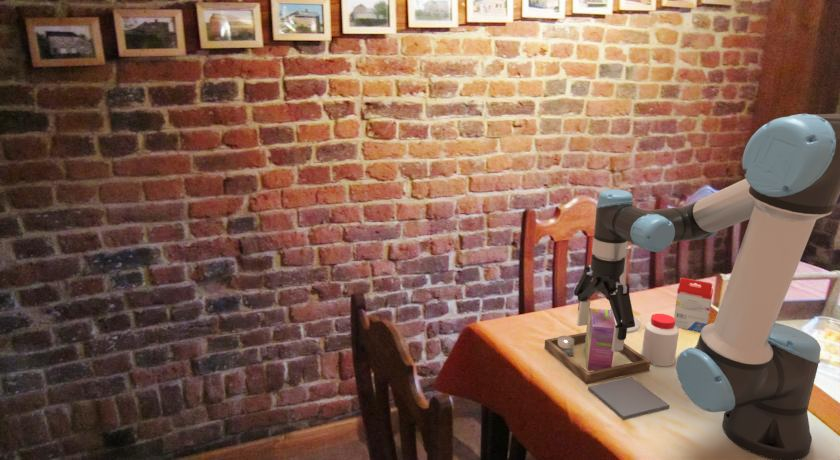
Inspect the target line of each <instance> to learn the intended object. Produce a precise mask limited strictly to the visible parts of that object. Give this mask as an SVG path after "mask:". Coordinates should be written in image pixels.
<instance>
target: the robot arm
mask: <svg viewBox="0 0 840 460" xmlns="http://www.w3.org/2000/svg"><path fill="white" fill-rule="evenodd" d="M742 169H743V171H745V174H744V179H741V180H739V181H737V182H735V183H732V184H730V185H729V186H727V187H724V188H722V189H720V190H718V191H715V192H714V193H711V194H708V195H707V196H705V197H703V198H700V199H699V200H697V201H694V202H692V203H690V204H688V205H684V206H678V207H677V206H676V207H668V208H667V207H666V208H660V209H649V210H647V209H644V208H643V209H642V208H640V207H637V206H636V205H634V195H633V194H632V193H631V192H629V191H627V190H623V189H616V188H615V189H614V188H612V189H605V190H602V191H600V193H599V194H598V198H597V205H596V207H595V211H596V212H595V220H594V221H595V222H594V233H593V239H592V240H593V241H592V248H591V249H592V250H591V252H592V255H591V260H590V264H589V265H584V267H583V268H584V269H583V274H582V275H581V277H580V279H579V281H578V283H577V285H576V287H575V289H574V290H573V295H574V296H577V300H578V307H577V311H578V315H577V316H578V317H577V324H576V325H577V327H582V326H583V327H584V326H587V321H588V311H589V308H591V301H590V300H591V297H592V296H593V295H594V294H595V293H596V292H601V294H602V295H604V296H605V298H606V300H607V301H609V305H610V309H611V308H612V311H613V314H614V317H615V320H616V323H617V325H614V333H613V341H612V349H611V350H612V351H613V352H614V353H615V352H619V351H620V350H623V346H624V343H625V340H626V338H627V334H628V333H627V328H631V327H635V321H634V317H635V315H634V312H633V307H632V301H631V297H630V284H629V283H625V284H622V283H620V276H621V275H622V274H623V272H624V266H625V258H624V257H625V256H626V248H627V241H629V243H631V244H634V245H635V246H637V247H638V248H641V249H643V250H646V251H649V252H653V253H654V252H655V253H659V252H662V251H664V250H665V249H667V248H669V247H670V245H671V244H672V243H678V242H686V241H687V242H688V241H701V240H705V239H709V238H713V237H714V236H716V235H717V234H718V233H719V231H721V230H724V229H727V228H729V227H732V226H734V225H737V224H740V223H742V222H746V221H748V220H749V221H748V223H747V227H746V230H745V233H744V235H743V238H742V241H741V244H740V247H739V250H738V253H737V256H736V259H735V261H734V264H733V268H732V270H731V273H730V276H729V279H728V282H727V285H726V288H725V291H724V293H723V297H722V300H721V302H720V305H719V309H718V311H717V315H716V317H715V319H714V322H710V323H708V324H707V325H706V326H704V327H703V329H702V331H701V332H700V334H699V337H698V340H697V343H696V346H694V347H687V348H686V349H685V350H682V351H681V352H680V353H679V355H678V356H677V359H676V365H675V367H676V374H677V378H678V381H679V383H680V386H681V389H682V390H683V391H684V394H685V395H686V396H687V397H688V399H689V400H690V401H691V402H692V403H693V404H694V405H695V406H697V407H698V408H699V409H701V410H703V411H706V412H709V413H720V412H724V414H723V419H722V423H721V425H722V430H723V431H724V433H725V435H726V436H727V437H728V438H729V439H730V440H731V441H732V442H733V443H734V444H736V445H737V446H738V447H741V448H742V449H744V450H746V451H748V452H750V453H752V454H754V455H756V456H757V455H758V456H759V457H763V458H766V459H770V460H803V459H804V458H806V457H807V456H808V455H809V454H810V451H811V447H812V442H813V441H812V440H813V436H812V434H811V429H810V422H809V416H808V410H809V405H810V401H811V396H812V392H813V387H814V383H815V379H816V375H817V373H818V372H817V371H818V368H819V364H820V363H821V360H820V357H821V356H820V355H821V351H822V350H821V348H822V347H821V345H820V343H819V342H818V340H817V339H816V338H814V337H813V336H812V335H810V334H808V333H807V332H804V331H802V330H800V329H798V328H795V327H793V326H789V325H786V324H783V323H777V322H776V321H777V318H778V316H779V314H780V311H781V308H782V306H783V304H784V302H785V298H786V296H787V294H788V291H789V289H790V287H791V285H792V281H793V279H794V276H795V274H796V272H797V269H798V266H799V264H800V261H801V259H802V256H803V254H804V251H805V249H806V246H807V245H808V244H807V243H808V242H809V239H810V236H811V235H812V232H813V229H814V227H815V224H816V221H817V220H818V219H819V220H820V219H821V218H824V217H827V216H829V215H831V214H832V213H833V211H834V208H835V206H836V204H837V201H838V199H839V197H840V113H825V114H824V113H823V114H819V113H817V114H814V113H813V114H808V113H799V114H791V115H789V116H783V117H782V116H781V117H779V118H774V119H772V120H770V121H768V122H767V123H765V124H764V125H762V126H760V127H759V128H758V130H756V131H755V132H754V133H753V135H751V137H750V138H749V139H748V141H747V143H746V146H745V149H744V151H743V155H742ZM626 257H627V256H626ZM614 292H615V294H614V295H613V293H614ZM621 320H622V322H621Z"/></svg>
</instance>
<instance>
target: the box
mask: <svg viewBox="0 0 840 460" xmlns="http://www.w3.org/2000/svg"><path fill="white" fill-rule="evenodd" d="M614 325H616V324H615V321H614V317H613V313H612V310H611V309H604V308H592V307H590V308H589V311H588V321H587V325H586V340H585V344H584V349H583V350H584V356H585V362H586V370H587V371H596V370H600V369H605V368H610V367H613V361H614V359H613V358H614V353H615V352H613V351H612V350H611V349H612V341H613V333H614Z"/></svg>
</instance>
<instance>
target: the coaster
mask: <svg viewBox="0 0 840 460" xmlns="http://www.w3.org/2000/svg"><path fill="white" fill-rule="evenodd" d="M587 387H588V389H587V391H590V392H591V393H592V394H593V395H594V396H595V398H597V399H598V400H599V401H600V402H602V403H603V404H604V405H605V406H606V407H608V409H610V410H611V411H612V410H613V411H614V412H613V411H612V412H613V413H614V414H615V415H617V416H618V417H619V418H620V417H621V419H622V421H624V420H627V419H631V418H635V417H640V416H644V415H648V414H652V413H656V412H660V411H664V410H667V409H670V404H669V403H668V402H666V401H665V400H664V399H662V398H661V397H660V396H658V395H657V394H655V392H653V391H651V390H650V389H649V388H647V387H646V386H644V385H643V384H642V383H641V382H639V380H637V379H635V377H633V376H630V377H629V376H628V377H625V378H620V379H617V380H612V381H608V382H607V381H606V382H603V383H602V382H601V383H598V384H594V385H589V386H587Z"/></svg>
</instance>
